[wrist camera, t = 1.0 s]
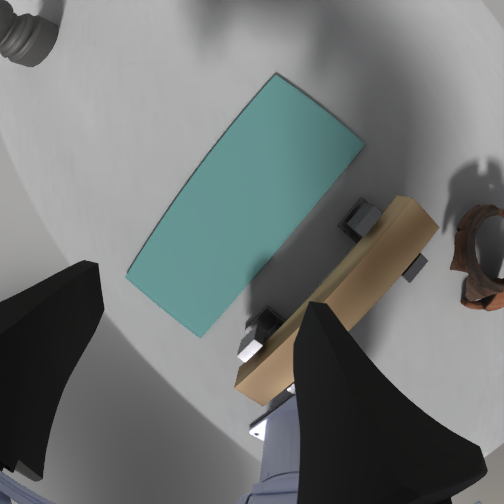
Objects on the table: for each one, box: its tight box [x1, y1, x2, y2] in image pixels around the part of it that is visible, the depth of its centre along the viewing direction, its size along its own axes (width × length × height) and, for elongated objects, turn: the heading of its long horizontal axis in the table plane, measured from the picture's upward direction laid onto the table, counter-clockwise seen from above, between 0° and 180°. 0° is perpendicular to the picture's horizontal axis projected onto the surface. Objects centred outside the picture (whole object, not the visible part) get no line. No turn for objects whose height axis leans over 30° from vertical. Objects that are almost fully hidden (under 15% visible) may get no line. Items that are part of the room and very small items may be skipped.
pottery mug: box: [450, 205, 504, 311], centre depth 20 cm, size 12×10×8 cm
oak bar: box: [234, 195, 439, 406], centre depth 20 cm, size 3×18×3 cm, turn 141°
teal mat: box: [125, 75, 365, 338], centre depth 24 cm, size 9×22×1 cm, turn 141°
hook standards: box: [237, 198, 428, 394], centre depth 22 cm, size 6×15×6 cm, turn 142°
